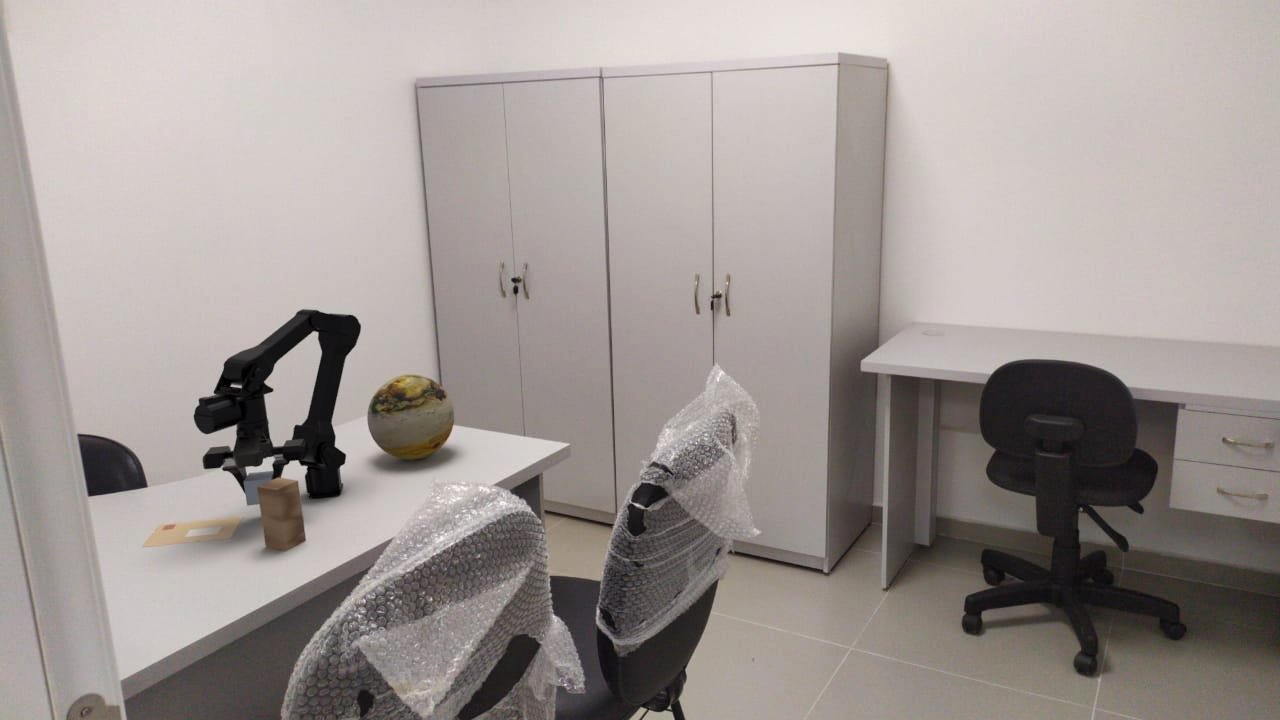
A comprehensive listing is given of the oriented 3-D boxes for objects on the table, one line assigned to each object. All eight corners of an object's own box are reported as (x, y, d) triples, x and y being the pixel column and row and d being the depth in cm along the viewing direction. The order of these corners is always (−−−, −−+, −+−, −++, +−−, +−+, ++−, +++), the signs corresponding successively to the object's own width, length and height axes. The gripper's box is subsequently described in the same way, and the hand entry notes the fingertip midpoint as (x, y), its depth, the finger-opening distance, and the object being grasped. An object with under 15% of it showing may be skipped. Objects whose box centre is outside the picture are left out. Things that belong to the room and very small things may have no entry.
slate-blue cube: (278, 493, 187) (275, 470, 185) (273, 502, 182) (270, 478, 181) (252, 496, 186) (249, 473, 185) (247, 505, 181) (243, 481, 180)
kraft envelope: (243, 516, 187) (243, 515, 187) (230, 538, 176) (230, 537, 176) (158, 525, 184) (158, 524, 184) (140, 548, 173) (140, 547, 173)
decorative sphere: (356, 470, 211) (346, 386, 207) (396, 442, 230) (388, 365, 226) (436, 473, 207) (427, 387, 202) (470, 445, 226) (463, 366, 221)
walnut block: (286, 536, 176) (278, 477, 173) (305, 540, 174) (297, 480, 171) (265, 547, 171) (257, 486, 169) (285, 551, 169) (277, 489, 167)
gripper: (189, 436, 171) (201, 515, 174) (294, 426, 174) (304, 504, 177) (204, 419, 181) (216, 494, 185) (304, 410, 185) (313, 484, 188)
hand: (262, 494), depth 183 cm, fingers closed on slate-blue cube, 5 cm apart
